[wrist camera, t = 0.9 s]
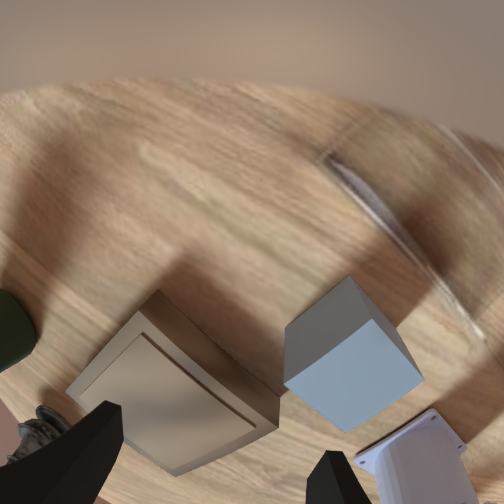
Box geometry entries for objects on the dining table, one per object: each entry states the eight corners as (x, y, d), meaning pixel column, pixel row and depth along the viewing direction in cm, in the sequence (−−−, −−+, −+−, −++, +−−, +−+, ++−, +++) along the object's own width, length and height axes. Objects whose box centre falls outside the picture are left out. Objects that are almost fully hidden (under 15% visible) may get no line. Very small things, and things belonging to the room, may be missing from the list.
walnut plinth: (280, 397, 21) (278, 429, 18) (184, 451, 23) (174, 478, 20) (157, 289, 19) (137, 311, 16) (83, 370, 22) (63, 392, 19)
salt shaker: (31, 394, 24) (-33, 465, 13) (77, 422, 24) (17, 506, 13) (37, 426, 26) (-15, 492, 14) (79, 451, 26) (32, 526, 14)
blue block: (395, 328, 18) (424, 379, 13) (334, 373, 20) (345, 433, 14) (349, 274, 18) (371, 318, 13) (284, 327, 19) (283, 384, 14)
